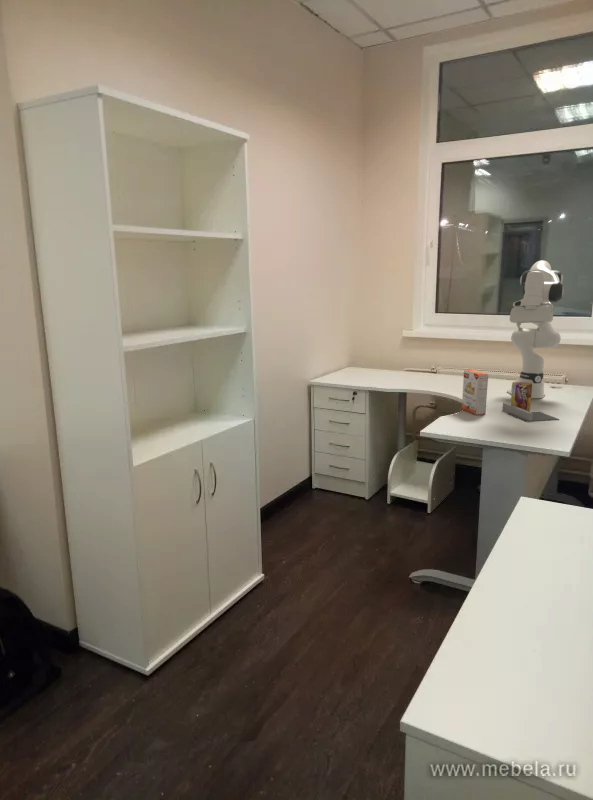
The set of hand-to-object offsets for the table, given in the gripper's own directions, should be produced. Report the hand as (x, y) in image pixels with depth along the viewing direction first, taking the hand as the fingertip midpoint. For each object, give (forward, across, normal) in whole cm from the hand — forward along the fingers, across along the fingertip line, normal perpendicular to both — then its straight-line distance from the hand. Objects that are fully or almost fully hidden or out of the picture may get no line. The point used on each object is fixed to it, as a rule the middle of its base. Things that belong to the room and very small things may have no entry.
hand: (529, 331), depth 279 cm
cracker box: (+42, +23, +4) cm, 48 cm away
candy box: (+39, +6, -13) cm, 42 cm away
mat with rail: (+41, 0, -9) cm, 42 cm away
